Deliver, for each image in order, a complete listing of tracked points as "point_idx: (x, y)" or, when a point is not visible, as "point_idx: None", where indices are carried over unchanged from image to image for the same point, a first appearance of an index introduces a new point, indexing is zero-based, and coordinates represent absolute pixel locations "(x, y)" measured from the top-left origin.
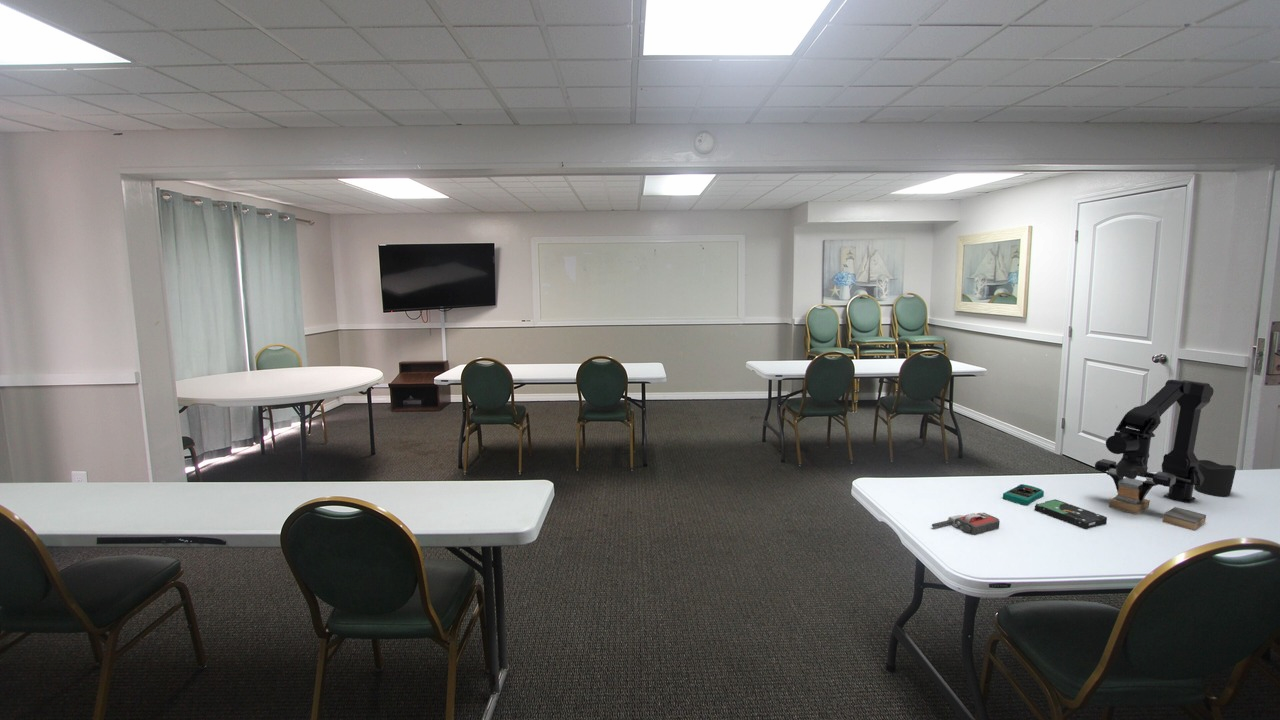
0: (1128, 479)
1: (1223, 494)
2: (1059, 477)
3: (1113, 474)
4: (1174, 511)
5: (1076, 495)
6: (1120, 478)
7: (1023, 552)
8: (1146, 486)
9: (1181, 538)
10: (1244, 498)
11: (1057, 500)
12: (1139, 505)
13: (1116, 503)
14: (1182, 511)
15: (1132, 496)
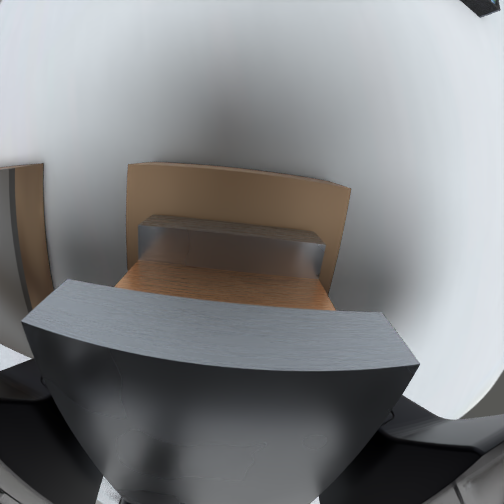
0: (270, 501)
1: (121, 500)
2: (462, 408)
3: (495, 453)
4: (6, 279)
5: (469, 259)
6: (359, 477)
7: None
8: (9, 385)
9: (6, 25)
10: (106, 496)
11: (491, 2)
12: (131, 219)
13: (295, 178)
14: (2, 310)
15: (180, 274)
